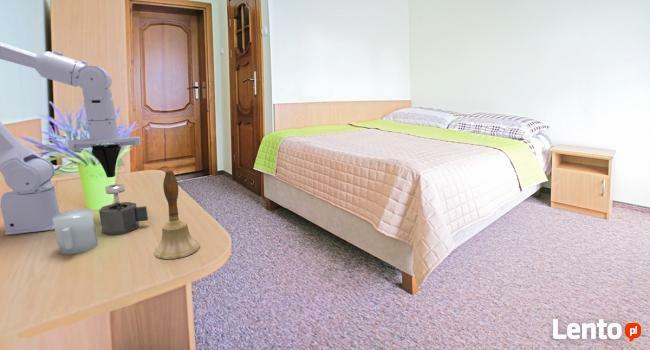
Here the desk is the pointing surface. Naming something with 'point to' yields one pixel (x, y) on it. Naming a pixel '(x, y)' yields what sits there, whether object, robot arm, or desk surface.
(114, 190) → the grey flared round piece
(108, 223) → the grey octagonal pot
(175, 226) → the hand bell
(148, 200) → the desk surface
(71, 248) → the white dome with tab
